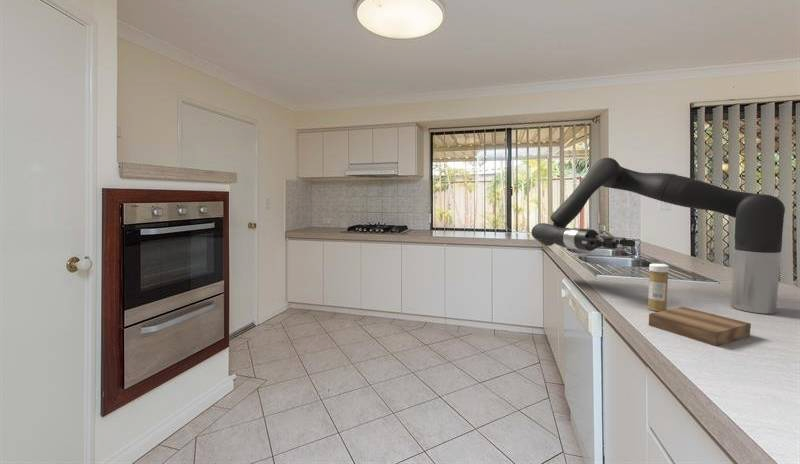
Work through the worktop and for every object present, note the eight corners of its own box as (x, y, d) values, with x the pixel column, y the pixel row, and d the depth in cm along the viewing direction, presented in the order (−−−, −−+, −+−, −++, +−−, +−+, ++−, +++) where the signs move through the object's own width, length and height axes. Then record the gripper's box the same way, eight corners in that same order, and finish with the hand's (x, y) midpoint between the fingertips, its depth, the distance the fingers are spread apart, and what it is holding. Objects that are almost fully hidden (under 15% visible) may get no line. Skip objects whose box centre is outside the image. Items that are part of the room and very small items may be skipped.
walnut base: (681, 317, 93) (682, 306, 93) (749, 335, 80) (750, 323, 80) (648, 325, 88) (649, 313, 88) (715, 346, 75) (716, 332, 75)
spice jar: (669, 310, 99) (671, 264, 98) (662, 313, 97) (665, 266, 96) (651, 306, 103) (653, 262, 102) (644, 309, 101) (646, 264, 99)
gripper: (566, 229, 119) (611, 233, 104) (594, 227, 124) (641, 231, 110) (565, 250, 120) (609, 258, 105) (593, 248, 125) (639, 254, 110)
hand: (625, 244), depth 107 cm, fingers open, 8 cm apart
